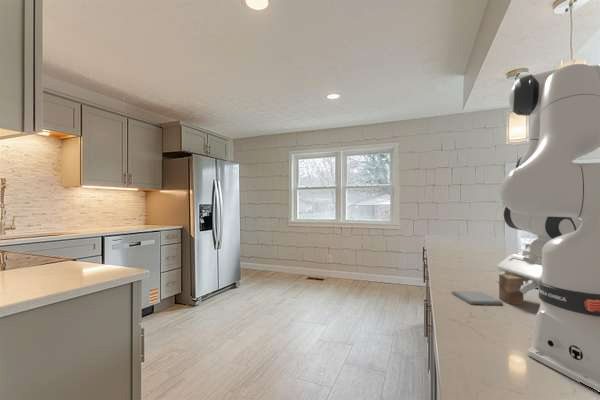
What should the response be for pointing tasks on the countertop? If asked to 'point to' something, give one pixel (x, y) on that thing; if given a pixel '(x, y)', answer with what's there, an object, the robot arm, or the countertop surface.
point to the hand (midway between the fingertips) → (509, 287)
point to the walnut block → (510, 289)
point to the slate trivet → (477, 298)
